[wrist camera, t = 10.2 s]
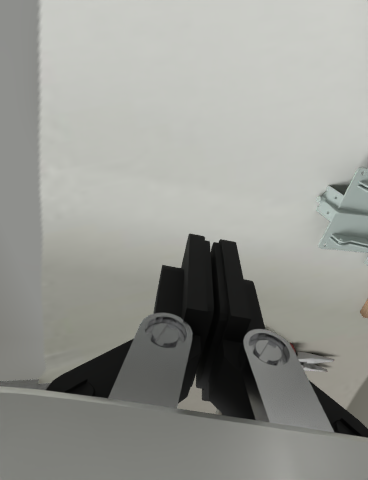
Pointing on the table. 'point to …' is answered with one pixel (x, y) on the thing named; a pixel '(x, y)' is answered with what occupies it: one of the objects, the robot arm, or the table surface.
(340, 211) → the metal bracket
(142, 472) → the robot arm
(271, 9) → the table surface
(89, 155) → the table surface
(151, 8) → the table surface
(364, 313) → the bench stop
